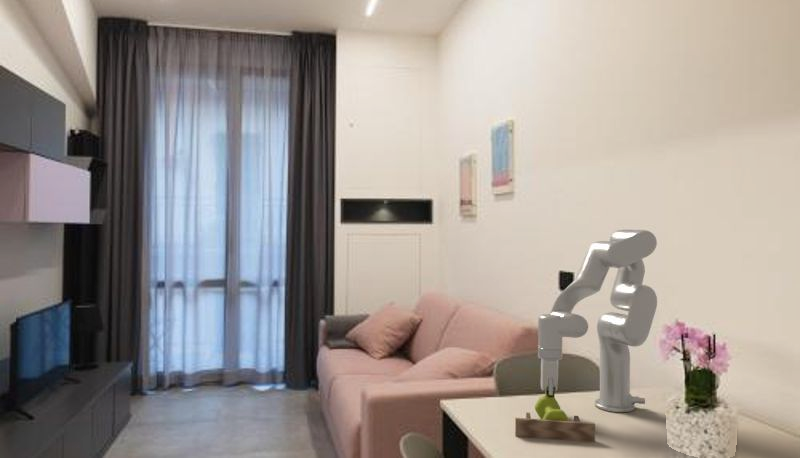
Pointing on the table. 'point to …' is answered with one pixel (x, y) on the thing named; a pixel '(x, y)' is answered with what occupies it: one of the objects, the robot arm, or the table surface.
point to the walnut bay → (555, 429)
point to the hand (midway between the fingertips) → (549, 410)
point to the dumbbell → (549, 409)
